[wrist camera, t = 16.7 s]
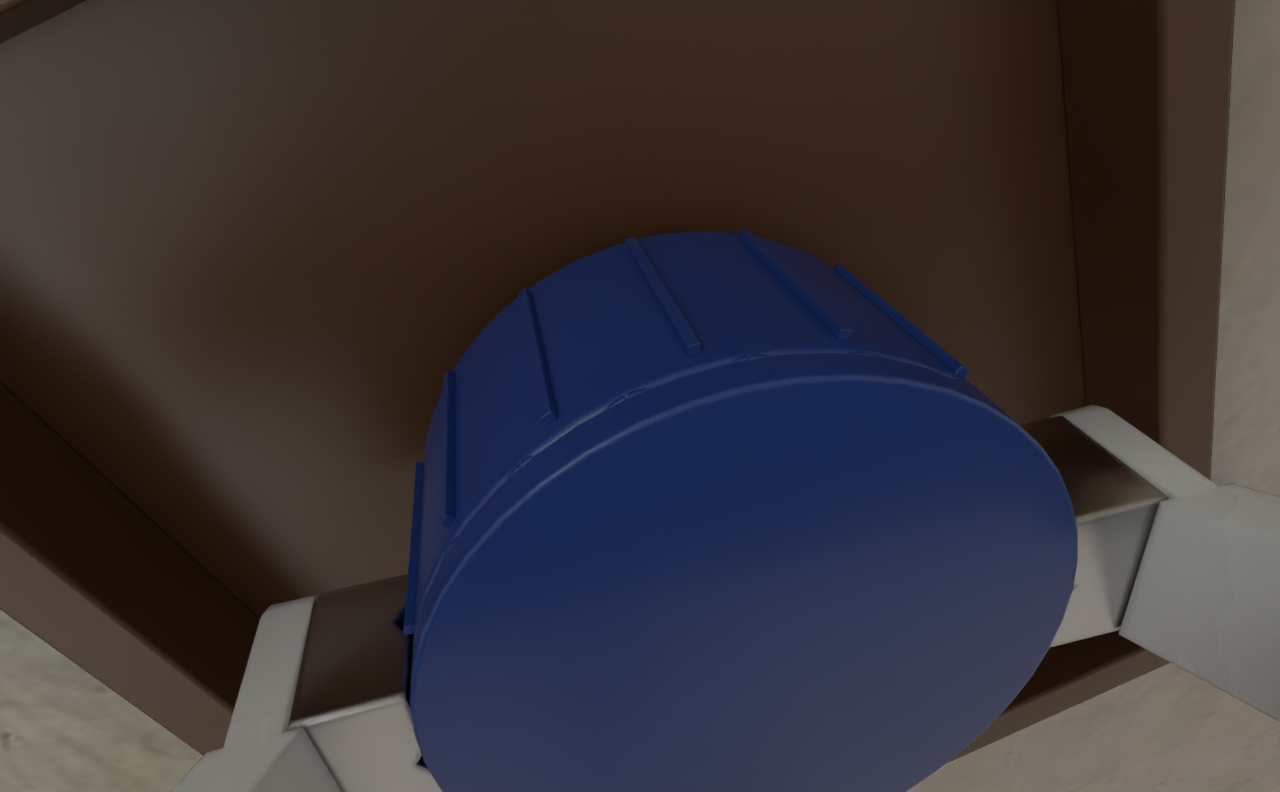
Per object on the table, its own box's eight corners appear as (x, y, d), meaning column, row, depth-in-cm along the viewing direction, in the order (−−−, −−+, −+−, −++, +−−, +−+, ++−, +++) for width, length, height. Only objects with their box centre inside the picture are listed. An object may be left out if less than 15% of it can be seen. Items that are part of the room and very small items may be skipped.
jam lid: (515, 140, 7) (553, 260, 4) (995, 315, 10) (1216, 469, 7) (367, 609, 10) (332, 872, 7) (773, 660, 12) (867, 875, 9)
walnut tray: (1114, 565, 15) (1203, 648, 13) (490, 849, 15) (495, 968, 13) (1052, -612, 6) (1283, -824, 5) (-353, 103, 7) (-634, 159, 5)
